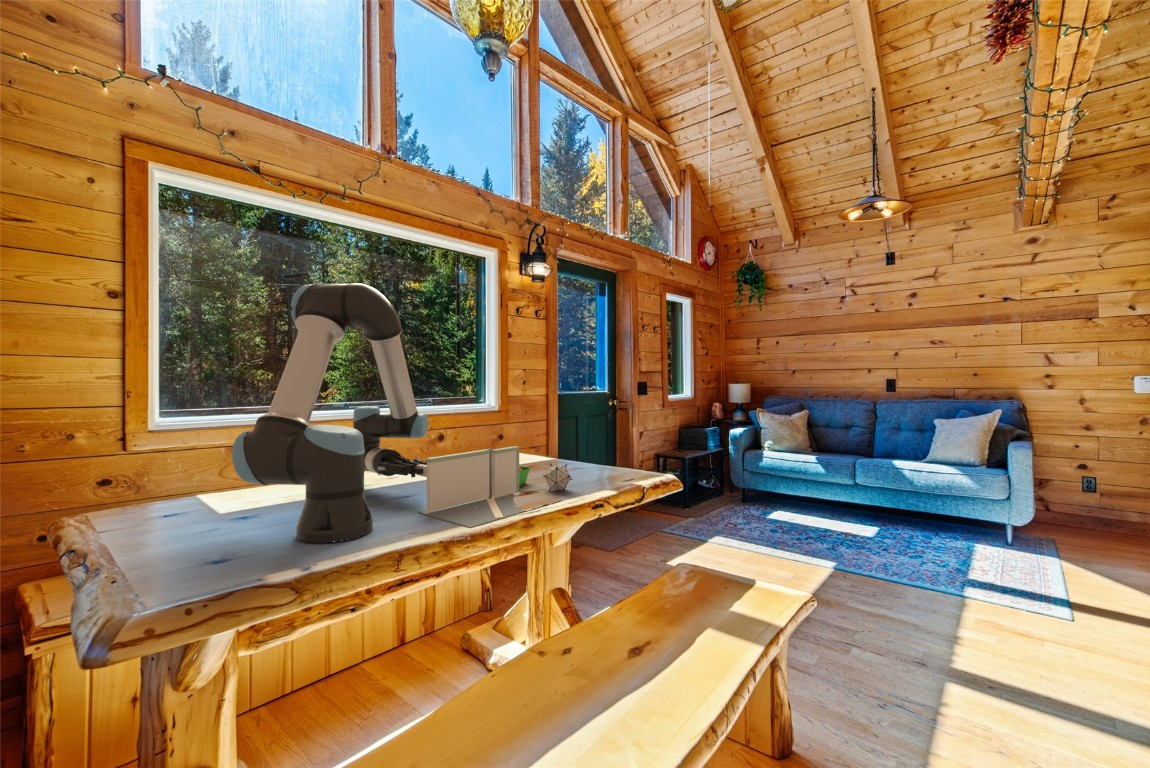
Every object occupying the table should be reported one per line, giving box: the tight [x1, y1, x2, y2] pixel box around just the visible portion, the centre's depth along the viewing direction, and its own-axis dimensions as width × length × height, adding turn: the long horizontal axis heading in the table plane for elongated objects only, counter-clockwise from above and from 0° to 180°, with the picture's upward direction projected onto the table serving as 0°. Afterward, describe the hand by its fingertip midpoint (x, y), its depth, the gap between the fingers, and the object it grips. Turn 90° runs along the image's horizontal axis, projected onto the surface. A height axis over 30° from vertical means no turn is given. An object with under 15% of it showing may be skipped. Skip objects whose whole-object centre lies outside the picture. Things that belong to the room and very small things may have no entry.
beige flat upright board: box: [425, 447, 493, 512], centre depth 136 cm, size 21×2×14 cm, turn 141°
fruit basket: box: [519, 465, 531, 487], centre depth 161 cm, size 11×9×11 cm
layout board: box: [419, 492, 562, 529], centre depth 135 cm, size 32×20×1 cm, turn 141°
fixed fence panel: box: [492, 445, 520, 497], centre depth 148 cm, size 9×2×14 cm, turn 141°
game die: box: [542, 463, 573, 492], centre depth 154 cm, size 9×8×10 cm
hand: (433, 472), depth 135 cm, fingers closed
